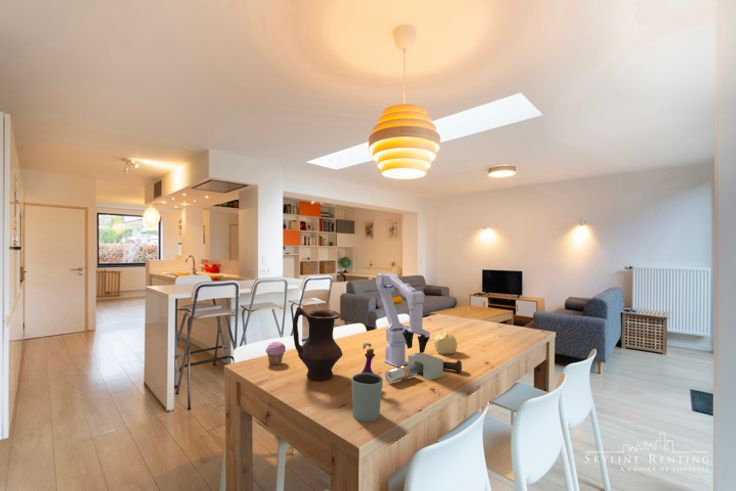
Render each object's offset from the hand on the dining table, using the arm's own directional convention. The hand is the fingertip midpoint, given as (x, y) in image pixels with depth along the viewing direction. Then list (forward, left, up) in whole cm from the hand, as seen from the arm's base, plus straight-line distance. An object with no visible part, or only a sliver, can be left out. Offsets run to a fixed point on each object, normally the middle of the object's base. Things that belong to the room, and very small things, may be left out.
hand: (415, 350), depth 147 cm
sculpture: (-12, +34, -10) cm, 37 cm away
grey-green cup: (+18, -40, -10) cm, 45 cm away
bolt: (+4, +14, -10) cm, 18 cm away
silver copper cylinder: (+3, -11, -10) cm, 15 cm away
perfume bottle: (+2, -28, -10) cm, 30 cm away
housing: (+3, +3, -10) cm, 11 cm away
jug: (-21, -37, -10) cm, 44 cm away
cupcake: (-47, -45, -10) cm, 66 cm away
